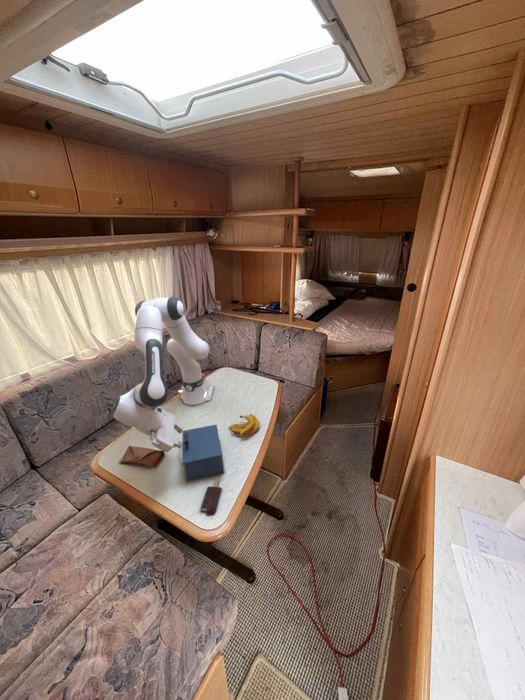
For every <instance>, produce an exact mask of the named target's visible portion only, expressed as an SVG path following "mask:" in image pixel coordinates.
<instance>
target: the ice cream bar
mask: <svg viewBox="0 0 525 700" xmlns="http://www.w3.org/2000/svg"><path fill="white" fill-rule="evenodd" d="M219 482H220V477H219V476H218V477H215V478H214V481H213V484H212V486H207V488H206V492H205V494H204V497H203V500H202V503H201V506H200V512H206V514H207V515H213V514H215V512H216V511H217V507H218V503H219V500H220V496H221V494H222V493H221V492H222V487H220V486H219Z"/></svg>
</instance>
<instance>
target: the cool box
mask: <svg viewBox="0 0 525 700" xmlns="http://www.w3.org/2000/svg"><path fill="white" fill-rule="evenodd" d="M223 461H224V460H223V455H222V456H220V457H216V458H211V459H207V460H202V461H198V462H193V463H188V464H184V468H185V473H186V479H187V481H188V482H189V481H193V480H198V479H202V478H205V477H210V476H214V475H218V474H223V473H225V469H224V462H223Z"/></svg>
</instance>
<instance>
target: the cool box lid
mask: <svg viewBox="0 0 525 700" xmlns="http://www.w3.org/2000/svg"><path fill="white" fill-rule="evenodd" d="M181 437H182V439H181V443H182V447H181V452H182V453H181V457H182V458H181V459H182V461H181V463H182V465H183V466H185V464H188V463H193V462H198V461H202V460H207V459H211V458H216V457H220V456H222V457H223V453H222V452H223V451H222V448H221V442H220V436H219V429H218V425H217V424H212V425H211V424H210V425H207V426H202V427H197V428H196V427H195V428H190V429H186V430H185V429H184V430H182V432H181Z"/></svg>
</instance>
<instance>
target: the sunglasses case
mask: <svg viewBox="0 0 525 700" xmlns="http://www.w3.org/2000/svg"><path fill="white" fill-rule="evenodd" d="M164 458H165V452H164V451H162V450H160V449H154V448H148V447H141V446H134V445H128V446H127V449H126V451H125V453H124V455H123V457H122V459H121V460H120V462H119V463H120V464H129V465H135V466H140V467H145V468H149V469H156V467H158V465H159V464H161V462H162V461H163V460H164Z"/></svg>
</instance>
